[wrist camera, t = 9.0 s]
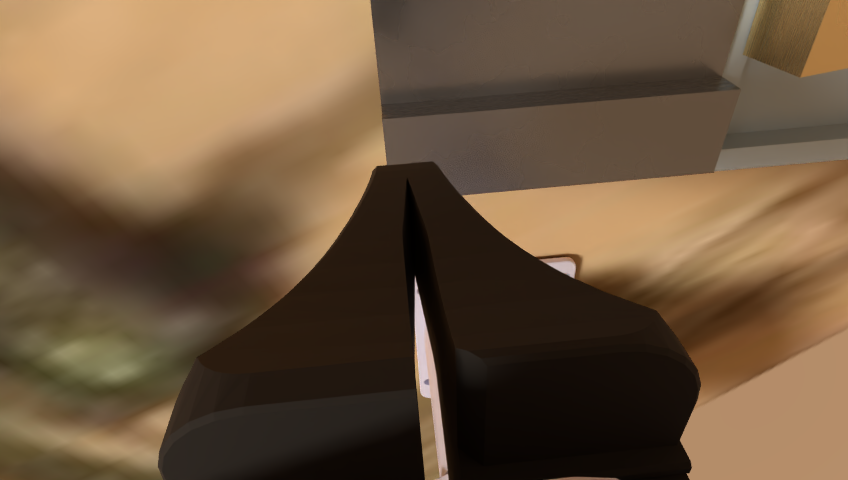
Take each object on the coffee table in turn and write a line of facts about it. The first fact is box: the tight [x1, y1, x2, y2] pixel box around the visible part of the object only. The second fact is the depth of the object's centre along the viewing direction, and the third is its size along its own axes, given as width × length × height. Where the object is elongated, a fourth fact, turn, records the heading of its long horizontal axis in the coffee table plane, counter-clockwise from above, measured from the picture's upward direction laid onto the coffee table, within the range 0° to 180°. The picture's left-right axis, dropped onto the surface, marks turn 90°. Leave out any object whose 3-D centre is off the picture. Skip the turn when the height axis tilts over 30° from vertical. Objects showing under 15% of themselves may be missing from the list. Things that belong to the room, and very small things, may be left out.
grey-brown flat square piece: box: [371, 0, 745, 195], centre depth 17 cm, size 12×12×3 cm
